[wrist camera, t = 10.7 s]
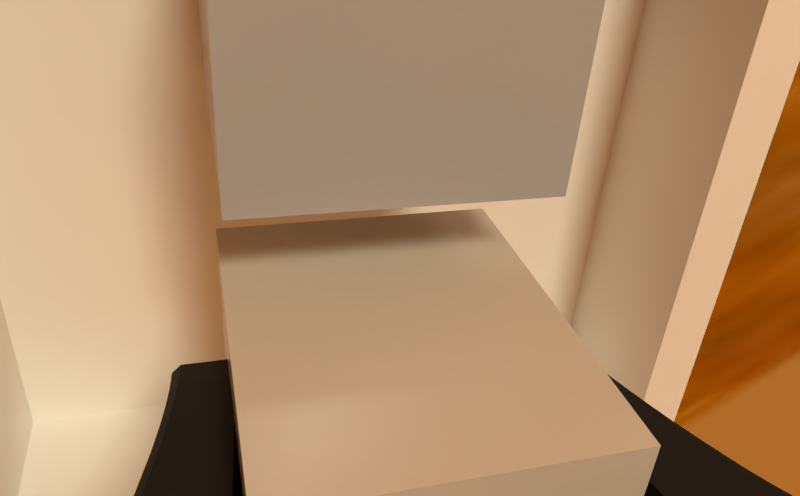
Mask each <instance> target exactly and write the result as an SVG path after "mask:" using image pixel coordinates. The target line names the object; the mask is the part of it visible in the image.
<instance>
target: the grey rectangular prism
mask: <svg viewBox="0 0 800 496" xmlns="http://www.w3.org/2000/svg"><path fill="white" fill-rule="evenodd" d="M604 4H605V0H198V12H199V25H200V38H201V51H202V64H203V74H204V82H205V90H206V98H207V106H208V114H209V122H210V130H211V138H212V146H213V153H214V161H215V169H216V177H217V185H218V193H219V201H220V209H221V217H222V221H226V220H240V219H254V218H268V217H282V216H296V215H310V214H324V213H338V212H352V211H366V210H380V209H395V208H409V207H423V206H437V205H451V204H465V203H479V202H493V201H507V200H521V199H535V198H550V197H564V196H566V192H567V187H568V182H569V177H570V172H571V167H572V162H573V157H574V152H575V147H576V142H577V138H578V133H579V128H580V123H581V118H582V113H583V108H584V103H585V98H586V93H587V88H588V83H589V78H590V73H591V68H592V63H593V58H594V54H595V49H596V44H597V39H598V34H599V29H600V24H601V19H602V14H603V9H604Z"/></svg>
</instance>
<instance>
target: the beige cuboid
mask: <svg viewBox="0 0 800 496" xmlns="http://www.w3.org/2000/svg"><path fill="white" fill-rule="evenodd" d="M216 240H217V253H218V266H219V278H220V291H221V304H222V317H223V330H224V342H225V355H226V359H227V361H228V369H229V377H230V385H231V393H232V401H233V410H234V420H235V433H236V447H237V460H238V473H239V487H240V496H644V494H645V491H646V488H647V486H648V483H649V480H650V477H651V474H652V471H653V468H654V465H655V462H656V459H657V456H658V453H659V450H660V447H661V445H660V444H659V443H658V441H657V440H656V439H655V437H654V436H653V435H652V433H651V432H650V431H649V429H648V428H647V427H646V425H645V424H644V423H643V421H642V420H641V419H640V417H639V416H638V415H637V413H636V412H635V411H634V409H633V408H632V407H631V405H630V404H629V403H628V401H627V400H626V399H625V397H624V396H623V395H622V393H621V392H620V391H619V389H618V388H617V387H616V385H615V384H614V383H613V381H612V380H611V379H610V377H609V376H608V375H607V373H606V372H605V371H604V369H603V368H602V367H601V365H600V364H599V363H598V361H597V360H596V359H595V357H594V356H593V355H592V353H591V352H590V351H589V349H588V348H587V347H586V345H585V344H584V343H583V341H582V340H581V339H580V337H579V336H578V335H577V333H576V332H575V331H574V329H573V328H572V327H571V325H570V324H569V323H568V321H567V320H566V319H565V317H564V316H563V315H562V313H561V312H560V311H559V310H558V308H557V307H556V306H555V304H554V303H553V302H552V300H551V299H550V298H549V296H548V295H547V294H546V292H545V291H544V290H543V288H542V287H541V286H540V284H539V283H538V282H537V280H536V279H535V278H534V276H533V275H532V274H531V272H530V271H529V270H528V268H527V267H526V266H525V264H524V263H523V262H522V260H521V259H520V258H519V256H518V255H517V254H516V252H515V251H514V250H513V248H512V247H511V246H510V244H509V243H508V242H507V240H506V239H505V238H504V236H503V235H502V234H501V232H500V231H499V230H498V228H497V227H496V226H495V224H494V223H493V222H492V220H491V219H490V218H489V216H488V215H487V214H486V212H485V211H484V210H483V209H469V210H456V211H443V212H430V213H417V214H404V215H390V216H377V217H364V218H351V219H338V220H324V221H311V222H298V223H285V224H272V225H258V226H245V227H232V228H219V229H216Z"/></svg>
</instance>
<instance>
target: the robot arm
mask: <svg viewBox="0 0 800 496" xmlns="http://www.w3.org/2000/svg"><path fill="white" fill-rule="evenodd" d="M607 375H608V374H607ZM608 376H609V375H608ZM609 377H610V379H611V380H612V381H613V383H614V384H615V385H616V387H617V388H618V389H619V391H620V392H621V393H622V395H623V396H624V397H625V399H626V400H627V401H628V403H629V404H630V405H631V407H632V408H633V409H634V411H635V412H636V413H637V415H638V416H639V417H640V419H641V420H642V421H643V423H644V424H645V425H646V427H647V428H648V429H649V431H650V432H651V433H652V435H653V436H654V437H655V439H656V440H657V441H658V443H659V444H660V445H661V447H660V450H659V453H658V456H657V459H656V462H655V465H654V468H653V471H652V474H651V477H650V480H649V483H648V486H647V488H646V491H645V494H644V496H792V495H790V494H789V493H787V492H785V491H783V490H781V489H780V488H778V487H776V486H774V485H772V484H771V483H769V482H767V481H766V480H764V479H762V478H761V477H759V476H757V475H755V474H754V473H752V472H750V471H749V470H747V469H746V468H744V467H742V466H741V465H739V464H737V463H736V462H734V461H733V460H731V459H730V458H728V457H727V456H725V455H723V454H722V453H720V452H719V451H717V450H716V449H714V448H713V447H711V446H709V445H708V444H706V443H705V442H703V441H702V440H700V439H699V438H697V437H695V436H694V435H693V434H691V433H690V432H688V431H687V430H685V429H684V428H682V427H681V426H679V425H678V424H676V423H675V422H673V421H672V420H671V419H669V418H668V417H666V416H665V415H663V414H662V413H661V412H659V411H658V410H656V409H655V408H653V407H652V406H651V405H649V404H648V403H646V402H645V401H644V400H642V399H641V398H639V397H638V396H637V395H635V394H634V393H632V392H631V391H630V390H628V389H627V388H626V387H624V386H623V385H622V384H620V383H619V382H617V381H616V380H615V379H613V378H612V377H611V376H609ZM134 496H240V487H239V473H238V460H237V447H236V433H235V420H234V410H233V401H232V393H231V385H230V377H229V369H228V361H227V359H225V360H217V361H208V362H200V363H192V364H183V365H180V366H179V367H178V368H177V369H176V370H175V371H174V372H173V373H172V376H171V383H170V389H169V394H168V398H167V402H166V406H165V410H164V413H163V417H162V420H161V423H160V426H159V429H158V432H157V435H156V438H155V441H154V444H153V447H152V450H151V453H150V456H149V458H148V461H147V463H146V466H145V468H144V471H143V473H142V476H141V479H140V481H139V484H138V486H137V489H136V491H135V494H134Z"/></svg>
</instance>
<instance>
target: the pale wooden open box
mask: <svg viewBox="0 0 800 496" xmlns="http://www.w3.org/2000/svg"><path fill="white" fill-rule="evenodd" d="M799 60H800V0H605V4H604V9H603V14H602V19H601V24H600V29H599V34H598V39H597V44H596V49H595V54H594V58H593V63H592V68H591V73H590V78H589V83H588V88H587V93H586V98H585V103H584V108H583V113H582V118H581V123H580V128H579V133H578V138H577V142H576V147H575V152H574V157H573V162H572V167H571V172H570V177H569V182H568V187H567V192H566V196H564V197H550V198H535V199H521V200H507V201H493V202H479V203H465V204H451V205H437V206H423V207H409V208H395V209H380V210H366V211H352V212H338V213H324V214H310V215H296V216H282V217H268V218H254V219H240V220H226V221H222V217H221V209H220V201H219V193H218V185H217V177H216V169H215V161H214V153H213V146H212V138H211V130H210V122H209V114H208V106H207V98H206V90H205V82H204V74H203V64H202V51H201V38H200V25H199V12H198V0H0V496H134V494H135V491H136V489H137V486H138V484H139V481H140V479H141V476H142V473H143V471H144V468H145V466H146V463H147V461H148V458H149V456H150V453H151V450H152V447H153V444H154V441H155V438H156V435H157V432H158V429H159V426H160V423H161V420H162V417H163V413H164V410H165V406H166V402H167V398H168V394H169V389H170V383H171V376H172V373H173V372H174V371H175V370H176V369H177V368H178V367H179V366H180V365H183V364H192V363H200V362H208V361H217V360H225V359H226V355H225V342H224V330H223V317H222V304H221V291H220V278H219V266H218V253H217V240H216V229H219V228H232V227H245V226H258V225H272V224H285V223H298V222H311V221H324V220H338V219H351V218H364V217H377V216H390V215H404V214H417V213H430V212H443V211H456V210H469V209H483V210H484V211H485V212H486V214H487V215H488V216H489V218H490V219H491V220H492V222H493V223H494V224H495V226H496V227H497V228H498V230H499V231H500V232H501V234H502V235H503V236H504V238H505V239H506V240H507V242H508V243H509V244H510V246H511V247H512V248H513V250H514V251H515V252H516V254H517V255H518V256H519V258H520V259H521V260H522V262H523V263H524V264H525V266H526V267H527V268H528V270H529V271H530V272H531V274H532V275H533V276H534V278H535V279H536V280H537V282H538V283H539V284H540V286H541V287H542V288H543V290H544V291H545V292H546V294H547V295H548V296H549V298H550V299H551V300H552V302H553V303H554V304H555V306H556V307H557V308H558V310H559V311H560V312H561V313H562V315H563V316H564V317H565V319H566V320H567V321H568V323H569V324H570V325H571V327H572V328H573V329H574V331H575V332H576V333H577V335H578V336H579V337H580V339H581V340H582V341H583V343H584V344H585V345H586V347H587V348H588V349H589V351H590V352H591V353H592V355H593V356H594V357H595V359H596V360H597V361H598V363H599V364H600V365H601V367H602V368H603V369H604V371H605V372H606V373H607V374H608V375H609V376H611V377H612V378H613V379H615V380H616V381H617V382H619V383H620V384H622V385H623V386H624V387H626V388H627V389H628V390H630V391H631V392H632V393H634V394H635V395H637V396H638V397H639V398H641V399H642V400H644V401H645V402H646V403H648V404H649V405H651V406H652V407H653V408H655V409H656V410H658V411H659V412H661V413H662V414H663V415H665V416H666V417H668V418H669V419H671V420H672V421H673V422H674V420H675V417H676V414H677V411H678V408H679V405H680V402H681V400H682V397H683V394H684V391H685V388H686V385H687V382H688V379H689V377H690V374H691V371H692V368H693V365H694V362H695V359H696V356H697V354H698V351H699V348H700V345H701V342H702V339H703V336H704V333H705V331H706V328H707V325H708V322H709V319H710V316H711V313H712V310H713V308H714V305H715V302H716V299H717V296H718V293H719V290H720V287H721V285H722V282H723V279H724V276H725V273H726V270H727V267H728V265H729V262H730V259H731V256H732V253H733V250H734V247H735V244H736V242H737V239H738V236H739V233H740V230H741V227H742V224H743V221H744V219H745V216H746V213H747V210H748V207H749V204H750V201H751V198H752V196H753V193H754V190H755V187H756V184H757V181H758V178H759V175H760V173H761V170H762V167H763V164H764V161H765V158H766V155H767V152H768V150H769V147H770V144H771V141H772V138H773V135H774V132H775V129H776V127H777V124H778V121H779V118H780V115H781V112H782V109H783V106H784V104H785V101H786V98H787V95H788V92H789V89H790V86H791V83H792V81H793V78H794V75H795V72H796V69H797V66H798V63H799Z"/></svg>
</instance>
